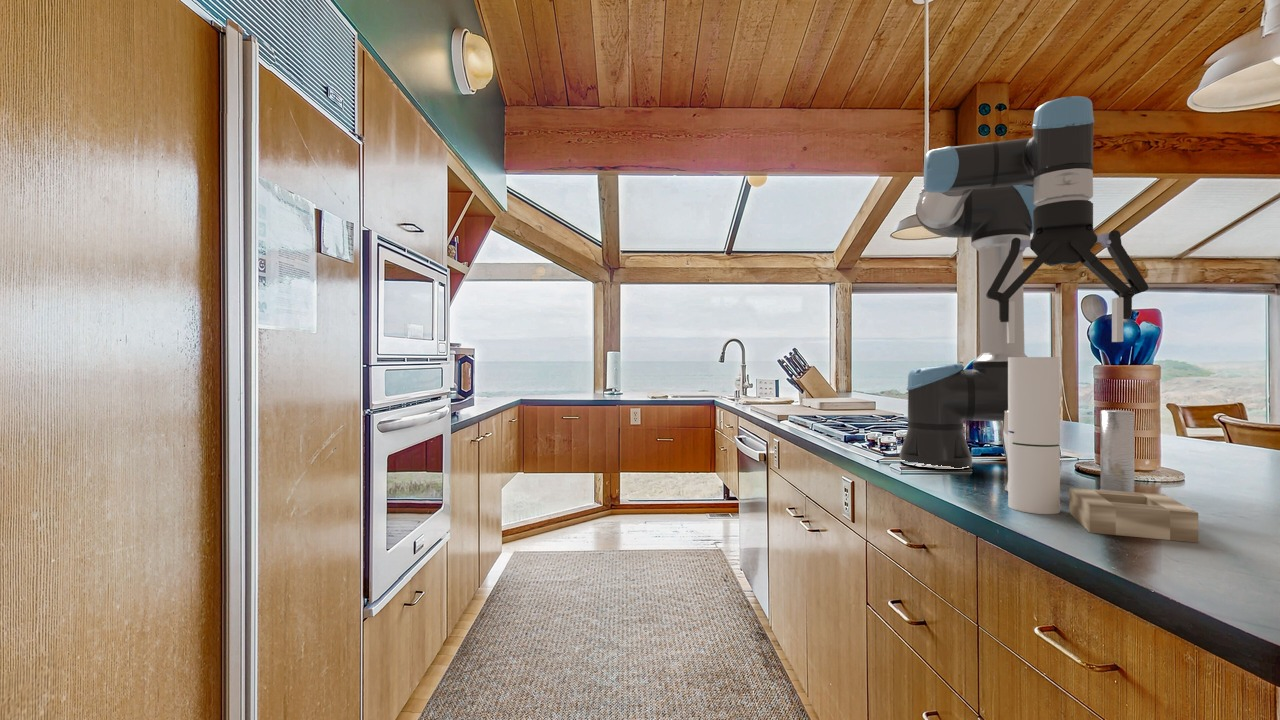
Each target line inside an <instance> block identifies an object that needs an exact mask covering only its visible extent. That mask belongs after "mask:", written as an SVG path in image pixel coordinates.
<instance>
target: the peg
mask: <svg viewBox="0 0 1280 720" xmlns="http://www.w3.org/2000/svg"><path fill="white" fill-rule="evenodd" d="M1099 412H1100V413H1099V414H1100V417H1099V418H1100V427H1099V428H1100V438H1099V439H1100V440H1099V441H1100V444H1099V445H1100V490H1108V491H1122V492H1135V411H1132V410H1122V409H1120V410H1119V409H1102V410H1100V411H1099Z"/></svg>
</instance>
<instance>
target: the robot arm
mask: <svg viewBox="0 0 1280 720" xmlns="http://www.w3.org/2000/svg"><path fill="white" fill-rule="evenodd" d="M1093 109H1094V107H1093V102H1092V100H1091V99H1090V98H1089V97H1086V96H1083V95H1082V96H1081V95H1072V96H1071V95H1070V96H1065V97H1064V96H1063V97H1059V98H1056V99H1052V100H1049V101H1046V102H1044V103H1043V104H1041V105H1039V106H1038V107H1037V108H1036V109H1035V111H1034V113H1033V121H1032V122H1033V123H1032V125H1031V128H1032V133H1033V134H1032V137H1029V138H1028V137H1027V138H1026V137H1025V138H1018V139H1017V138H1016V139H1010V140H1001V141H994V142H993V141H992V142H983V143H973V144H965V145H956V146H953V145H952V146H951V145H949V146H945V147H940V148H934V149H931V150H929V151H927V152H926V154H925V155H924V162H923V189H924V190H925V191H924V192H923V193H922V194H921V195H920V197H919V198H918V201H917V203H916V206H915V215H916V219H917V221H918V223H919V225H921V226H922V227H923V228H924V229H925V230H926V231H928V232H929V233H932V234H935V235H938V236H941V237H945V238H951V239H953V238H954V239H955V238H970V239H971V242H970V243H971V247H973V248H974V249H975V250H976V251H978V263H979V264H978V265H979V266H978V267H979V268H978V269H979V270H978V272H979V273H978V274H979V276H978V277H979V278H978V279H979V280H978V281H979V283H978V284H979V335H980V336H979V339H980V341H979V343H980V348H979V349H980V353H979V355H978V356H977V357H976V358H975V359H974V360H973V361H972V369H965V366H964V365H963V364H962V363H961V362H959V363H950V364H940V365H939V364H938V365H931V366H923V367H917V368H914V369H911V370H910V371H909V373H908V375H907V387H906V391H907V431H906V435H905V438H904V440H903V443H902V446H901V448H900V451H899V459H900V458H901V459H902V460H905V461H908V462H918V463H924V464H931V465H938V466H941V465H942V466H951V467H954V468H962V467H967V466H969V467H971V468H973V457H972V454H971V451H970V449H969V446H968V442H967V440H966V438H965V435H964V421H975V422H976V421H981V422H982V421H983V422H1003V410H1008V357H1028V355H1026V353H1025V314H1024V313H1025V307H1024V305H1025V304H1024V299H1025V298H1024V297H1025V296H1024V284H1025V283H1026V282H1027V280H1028V279H1030V277H1032V275H1033V274H1034V273H1035V272H1036V271H1037V270H1038V269H1039V268H1040V267H1042V265H1043V264H1045V265H1046V266H1049V267H1054V266H1055V267H1056V266H1058V265H1063V266H1073V265H1076V264H1079V263H1080V264H1082V265H1083V266H1084V267H1086V268H1087V269H1089V271H1091V272H1092V273H1093V275H1095V276H1096V277H1097V278H1098V279H1099V280H1100V281H1101V282H1103V284H1105V285H1106V286H1107V287H1108V288H1109V289H1110V290H1111V291H1112V292H1113V293H1114V294H1115V295H1116V296H1117V297H1115V298H1111V343H1122V342H1124V320H1130V319H1131V317H1132V316H1133V298H1134V296H1135V295H1138V294H1141V293H1143V292H1147V291H1148V290H1149V285H1148V283H1147V282H1146V281H1145V280H1146V279H1144V276H1142V274H1141V273H1140V271H1139V270H1138V268H1137V266H1136V265H1135V263H1134V262H1133V260H1132V258H1131V257H1130V255H1129V254H1128V253H1127V251H1126V249H1125V248H1124V245H1123V244H1122V237H1121V232H1120V230H1117V229H1114V230H1112V231H1110V232H1106V233H1099V234H1096V232H1095V231H1094V203H1093V202H1092V201H1090V200H1091V199H1092V198H1093V197H1094V172H1093V171H1094V123H1095V121H1096V119H1095V118H1094V110H1093ZM1031 235H1032V237H1031ZM1097 243H1098V244H1100V246H1101V247H1102V248H1105V249H1107V251H1108V253H1109V255H1110V256H1111V258H1112V259H1113V262H1114V263H1115V265H1116V266H1117V267H1118V269H1119V271H1120V272H1121V273H1122V276H1123V277H1124V278H1125V280H1126V281H1127V283H1128V284H1129V286H1130V287H1129V286H1128V285H1127V284H1126V283H1125V282H1124V281H1123V280H1121V278H1119V277H1118V275H1116V274H1115V273H1114V272H1113V271H1112V270H1111V269H1109V268H1108V267H1107V266H1106V265H1105V264H1104V263H1103V262H1102V261H1101V260H1099V258H1098V256H1097V255H1095V253H1093V252H1092V251H1091V249H1092V248H1093V247H1094V246H1095V245H1096V244H1097ZM1027 248H1030V249H1031V251H1032V252H1033V253H1034V254H1035V255H1036V257H1035V258H1034V259H1033V261H1031V262H1030V264H1029V265H1028V266H1027V267H1026V268H1025V269H1024V258H1023V257H1024V255H1023V254H1024V252H1025V251H1026V249H1027Z"/></svg>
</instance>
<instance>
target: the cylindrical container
mask: <svg viewBox="0 0 1280 720" xmlns="http://www.w3.org/2000/svg"><path fill="white" fill-rule="evenodd" d="M1060 358H1061V357H1060V356H1029V357H1028V356H1027V357H1008V430H1009V431H1008V491H1007V492H1008V495H1007V496H1008V497H1007V498H1008V499H1007V500H1008V505H1007V506H1008V507H1009V508H1010V509H1011V510H1015V511H1018V512H1022V513H1028V514H1029V513H1030V514H1039V515H1055V514H1059V513H1061V445H1060V444H1061V432H1060V431H1061V423H1060V421H1061V417H1060V414H1061V413H1060V412H1061V411H1060V410H1061V407H1060V406H1061V404H1060V403H1061V400H1060V399H1061V396H1060V395H1061V391H1060V390H1061V389H1060V386H1061V384H1060V383H1061V381H1060V380H1061V377H1060V376H1061V375H1060V370H1061V369H1060V367H1061V366H1060V365H1061V364H1060V362H1061V360H1060Z"/></svg>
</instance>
